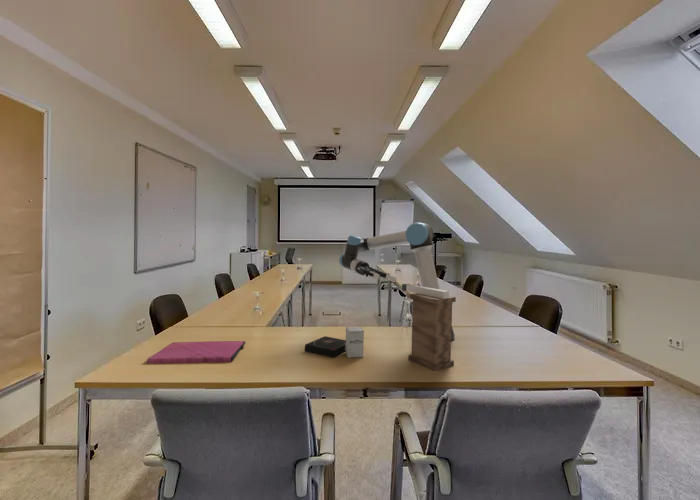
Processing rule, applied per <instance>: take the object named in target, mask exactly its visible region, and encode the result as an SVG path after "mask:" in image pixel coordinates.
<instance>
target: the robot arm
mask: <svg viewBox="0 0 700 500" xmlns="http://www.w3.org/2000/svg"><path fill="white" fill-rule="evenodd" d="M433 238H434V230H433V228H432V226H431V225H430V224H428V223H423V222H419V221H418V222H414V223H411V224H410V225H409V226H408V227H406V229H405V230H402V231H397V232H392V233H388V234H383V235H377V236H372V237H366V238H362V237H360V236H358V235H353V234H349V236H348V237H347V240H346V246H345V251H344V253H342V254H341V255H340V257H339V259H338V262H339V265H340V266H341V267H343V268H344V269H348V270H350V271H352V272H353V273H354V274H356V273H357V274H358V275H360V276H365V277H366V278H368V277H370V278H372V279H374V280H376V281H379V279H380V277H381V278H384V279H385V280H388V281H390V282H391V283H396V281H397V277H396V276H393V275H391V274H390V273H389V272H384V271H381V270H378V269H376V268H373V267H371V266H370V265H369V262H367V261H364V260H361V259H359V258H358V255H359V253H360V252H361V253H362V252H363V253H364V252H367V251H373V250H379V249H383V248H384V249H385V248H391V247H396V246H397V247H398V246H402V245H403V246H404V245H409V248H410V251H412V252H413V253H414V257H415V262H416V265H417V271H418V274H419V275H418V276H419V279H420V283H421V285H420V286H422V287H428V288H434V289H439V290H441V289H440V286H439V281H438V276H437V272H436V267H435V263H434V259H433V258H434V257H433V254H432V247H433V246H434V245H433ZM453 303H454V302H452V305H453ZM455 335H456V334H455V332H454V328H453V326H452V327H451V342H452V341H454V340H455V338H456V337H455Z"/></svg>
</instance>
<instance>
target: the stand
mask: <svg viewBox="0 0 700 500" xmlns="http://www.w3.org/2000/svg"><path fill="white" fill-rule="evenodd" d="M409 299H411V300H412V310H411V311H412V317H411V321H412V322H411V323H412V324H411V326H412V327H411V354H408V355H407V356H408V357H407V360H409V361H411V362H414V363H416V364H418V365H421V366H423V367H425V368H427V369H430V370H432V371H435V372H436V371H438V370H439V371H440V370H442V369H446V368H449V367H452V366H454V364H455V360H453V359H451V358H452V357H451V355H452V354H451V353H452V341H451V327H452V328H453V324H452V323H453V304H452V302H453V303H456V300H457V297H456V296H450V295H449V298H446V299H443V298H438V297H433V296H428V295H423V294H418V293H409Z"/></svg>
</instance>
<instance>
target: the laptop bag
mask: <svg viewBox="0 0 700 500" xmlns="http://www.w3.org/2000/svg"><path fill="white" fill-rule="evenodd" d="M245 344H246V341H245V340H220V341H218V340H217V341H215V340H213V341H212V340H211V341H178V342H176V341H175V342H171V343H170V344H168V345H167V346H165V347H164V348H162V349H161V350H159V351H157V352H156V353H154V354H153V355H151V356H149V357H148V358H147V359H146V364H186V363H187V364H196V363H197V364H199V363H200V364H201V363H232V362H233V361H234V360H235V359H236V358H237V355H238V354H239V353H240V352H241V350H242V349H243V348H244V347H245Z"/></svg>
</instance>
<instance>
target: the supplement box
mask: <svg viewBox="0 0 700 500" xmlns="http://www.w3.org/2000/svg"><path fill="white" fill-rule="evenodd" d="M345 340H346V349H345V355H346V357H347V358H364V342H365V341H364V340H365V330H364V329H363V327H361V326H347V327H346V326H345Z"/></svg>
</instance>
